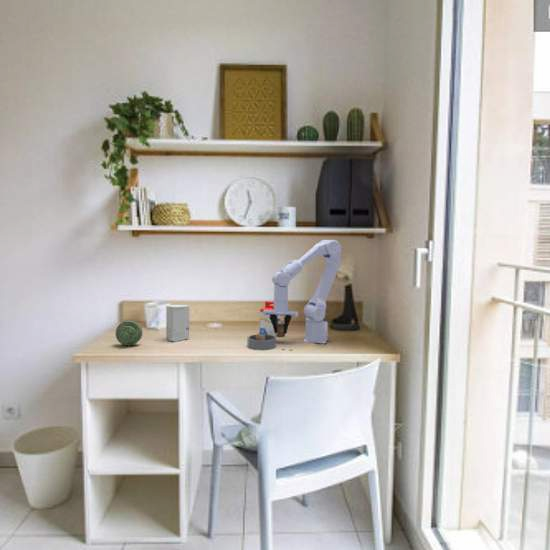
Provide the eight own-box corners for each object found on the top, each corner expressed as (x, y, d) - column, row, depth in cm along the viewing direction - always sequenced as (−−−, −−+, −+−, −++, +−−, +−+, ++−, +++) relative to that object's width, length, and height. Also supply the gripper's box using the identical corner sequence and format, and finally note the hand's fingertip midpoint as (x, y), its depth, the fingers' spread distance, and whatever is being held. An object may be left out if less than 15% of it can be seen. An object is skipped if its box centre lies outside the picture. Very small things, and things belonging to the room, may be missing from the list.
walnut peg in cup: (265, 346, 166) (265, 334, 165) (263, 348, 162) (263, 336, 162) (257, 345, 167) (257, 333, 166) (254, 348, 163) (254, 335, 163)
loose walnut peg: (285, 335, 174) (285, 323, 174) (284, 337, 171) (284, 325, 170) (277, 335, 175) (277, 323, 175) (275, 337, 172) (275, 325, 171)
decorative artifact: (142, 344, 169) (142, 320, 168) (137, 348, 162) (137, 323, 161) (117, 344, 169) (117, 320, 168) (111, 348, 162) (111, 323, 161)
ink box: (259, 334, 189) (259, 302, 188) (264, 332, 194) (264, 301, 192) (275, 336, 185) (276, 304, 184) (280, 334, 190) (281, 302, 188)
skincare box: (172, 342, 173) (172, 307, 172) (165, 339, 177) (165, 305, 176) (190, 339, 179) (189, 305, 177) (182, 336, 183) (182, 303, 182)
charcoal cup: (278, 344, 171) (278, 335, 171) (272, 351, 160) (272, 341, 160) (252, 342, 173) (252, 333, 173) (244, 349, 162) (244, 339, 162)
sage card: (296, 350, 163) (296, 348, 163) (294, 353, 158) (294, 352, 158) (279, 348, 165) (279, 347, 165) (276, 352, 160) (276, 350, 160)
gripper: (261, 301, 169) (261, 334, 170) (296, 302, 166) (296, 336, 167) (265, 298, 176) (265, 330, 177) (299, 300, 173) (299, 332, 174)
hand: (280, 332), depth 173 cm, fingers closed on loose walnut peg, 4 cm apart
